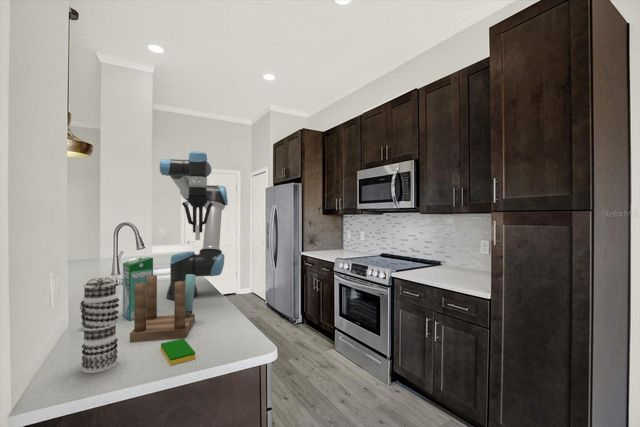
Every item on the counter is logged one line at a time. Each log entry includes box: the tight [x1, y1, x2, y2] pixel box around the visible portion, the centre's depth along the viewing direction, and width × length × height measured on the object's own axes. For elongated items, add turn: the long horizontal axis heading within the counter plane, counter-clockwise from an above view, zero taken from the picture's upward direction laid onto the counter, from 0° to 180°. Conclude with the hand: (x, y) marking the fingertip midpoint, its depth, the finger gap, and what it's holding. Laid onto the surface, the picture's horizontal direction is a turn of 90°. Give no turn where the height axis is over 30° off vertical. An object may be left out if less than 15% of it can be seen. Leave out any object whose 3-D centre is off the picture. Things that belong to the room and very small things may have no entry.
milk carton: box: [122, 255, 154, 322], centre depth 137 cm, size 9×9×25 cm
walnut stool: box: [129, 274, 196, 343], centre depth 120 cm, size 19×18×19 cm
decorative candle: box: [79, 277, 120, 374], centre depth 92 cm, size 9×9×25 cm
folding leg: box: [185, 274, 197, 312], centre depth 127 cm, size 4×4×14 cm
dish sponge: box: [160, 338, 196, 366], centre depth 100 cm, size 7×14×2 cm, turn 37°
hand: (197, 239), depth 142 cm, fingers closed
